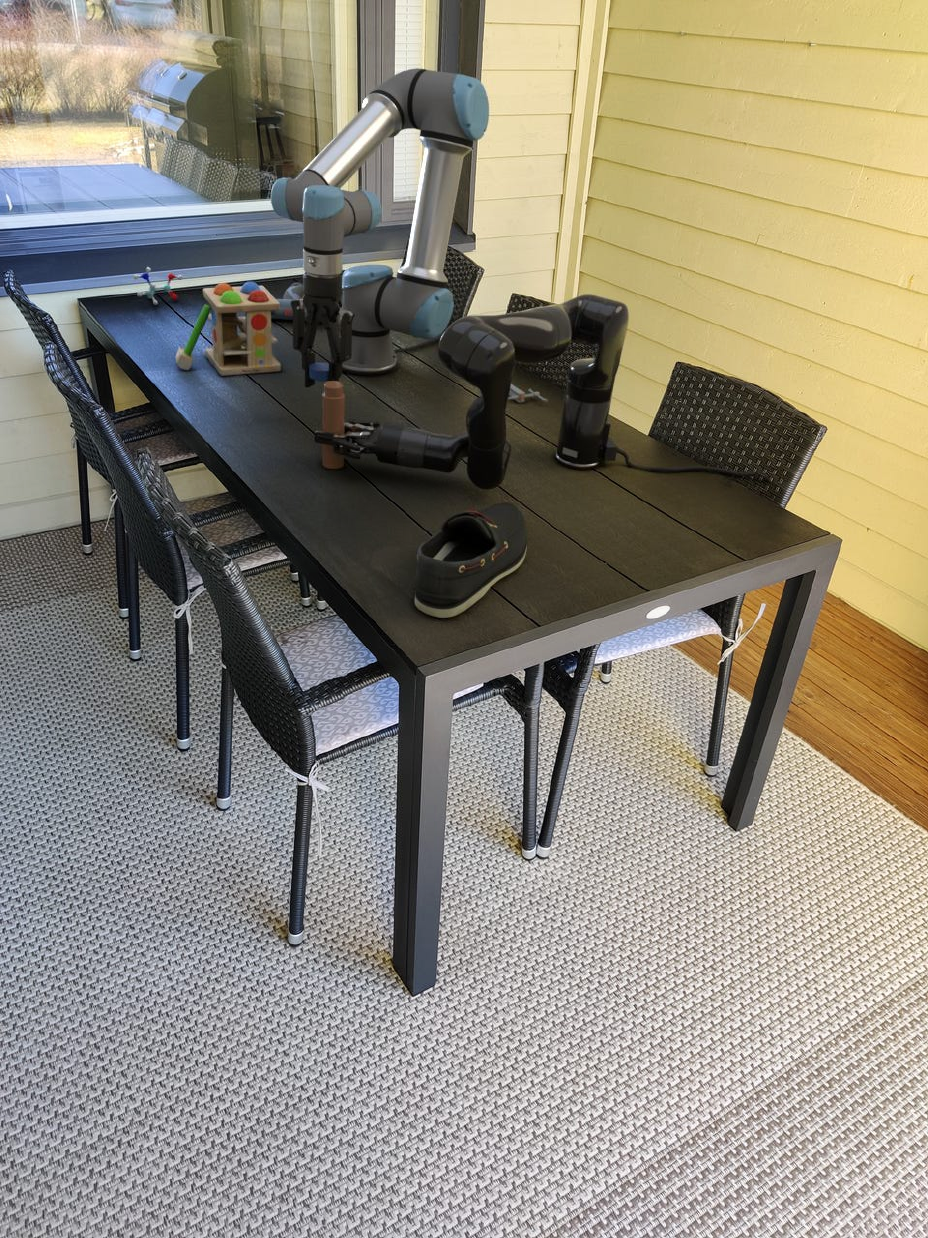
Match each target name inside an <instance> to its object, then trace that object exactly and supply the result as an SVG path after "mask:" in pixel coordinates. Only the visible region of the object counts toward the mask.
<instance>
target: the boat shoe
mask: <svg viewBox="0 0 928 1238" xmlns="http://www.w3.org/2000/svg"><path fill="white" fill-rule="evenodd" d="M527 533H528V532H527V526H526V520H525V518H524V515H523V514H522V512H521V510H520V508H519V507H518V506H517V505H515V504H514V503H512V502H509V501H499V502H495V503H492V504H490V505H487V506H486V507H483V508H482V509H480V510H478V511H474V510H463V511H459V512H457V513H455V514H453V515H451V516H449V517H448V518H447V519H446V520H445V521H444V522H443V523H442V525H441V526H440V527H439V530H438V531H437V532H435V533H434V534H432V535H431V536H430V537H428V538H427V539H426V540H425V541H423V542H422V543H421V544H420V545H419V546H418V548H417V550H416V552H415V559H416V560H417V562H416V570H415V574H414V575H415V576H414V581H413V583H412V589H413V590H415V593H414V605H415V607H416V608H417V609H418V610H419V611H420V612H422V613H424V614H426V615H427V616H432V617H434V618H439V619H446V618H448V619H449V618H453V617H456V616H458V615H460V614H462V613H463V612H465V611H466V610H467V609H469V608H470V607H471V606H473V605H474V604H475V603H476V602H478V601H479V600H481V598H483V597H484V596H485V595H486V594H487V592H488V591H489V590H490V589H491V587H492V586H494V585H495V584H496V583H497V582H498V581H499V580H501V579H503V578H504V577H506V576H508V575H510V574H511V573H513V572H514V571H516V570H517V569H518V568H519V567H520V566H521V565H522V564H523V562H524V560H525V558H526V555H527V550H528V548H527V547H528V534H527Z"/></svg>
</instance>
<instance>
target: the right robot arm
mask: <svg viewBox="0 0 928 1238" xmlns="http://www.w3.org/2000/svg"><path fill="white" fill-rule="evenodd" d="M629 312H630V311H629V307H628V305H627V304H626V303H625V302H623V301H618V300H615V299H612V298H608V297H604V296H600V295H597V294H591V293H584V294H581V295H578V296H577V295H576V296H575V297H572V298H570V299H568V300H566V301H564V302H561V303H554V304H550V305H544V306H543V305H541V306H537V307H532V308H527V309H525V310H521V311H515V312H508V313H503V314H502V313H501V314H492V315H489V314H488V315H487V314H484V315H479V314H476V315H475V314H473V315H465V316H463V317H460V318H458V319H457V320H455V321H453V322H452V323H451V324H450V325H449V326H447V327H446V328H445V329H444V330H443V332H442V333H441V335H442V336H441V335H440V336H441V338H440V340H438V343H437V355H438V358H439V361H440V362H441V363H442V365H443V366H444V367H445V368H446V369H447V370H449V372H451V373H453V374H454V375H456V376H457V377H459V378H460V379H462V380H463V381H465V382H466V383H468V384H469V385H471V386H472V387H475V388H477V389H478V390H479V392H480V394H481V395H480V396H479V397H477V398H476V399H475V400H473V402H472V403H471V404H470V406H469V407H468V409H467V412H466V416H465V427H466V433H464V434H453V435H450V434H445V433H439V432H433V431H428V430H425V429H422V428H419V427H413V426H406V425H401V424H396V423H391V422H390V423H389V422H385V423H383V424H382V425H381V422H380V421H379V420H367V419H366V420H365V419H350V420H349V421H348V422H345V434H334V433H328V432H323V431H322V430H316V431H315V432H314V434H313V436H314V437H313V438H314V443H316V444H321V445H322V444H326V445H332V446H333V452H335V453H338V454H341V455H344V457H347V458H350V459H353V460H357V461H359V460H360V459H361V455H362V454H365V455H375V457H376V459H377V461H378V462H379V463H383V464H388V465H392V466H399V467H405V468H411V469H421V470H422V469H423V470H429V471H434V472H440V473H445V474H446V473H447V474H449V473H452V472H454V471H455V470H456V469H457V468H458V465H459V464H460V462H461V461H462V460H463V459H467V460H466V473H467V478H468V479H469V481H470V482H471V483H472V484H473V485H474V486H475V487H476V488H478V489H481V490H485V491H490V490H491V491H492V490H494V489H496V488H498V487H499V486H500V485H501V484H503V482H504V480H505V477H506V474H507V468H508V465H509V462H510V457H511V455H512V445H511V443H510V441H509V440H508V439H507V434H508V433H507V416H506V413H507V405H508V401H509V400H508V397H510V396H509V392H510V390H511V389H510V387H511V384H512V381H513V375H514V371H515V364H516V363H519V364H527V365H537V364H540V363H546V362H548V361H551V360H555V359H557V358H559V357H560V356H562V355H563V354H564V353H565V352H566V351H567V350H568V348H569V347H570V345H571V343H572V342H575V343H578V344H582V345H584V346H589V347H591V348H594V349H597V351H596V355H595V357H588V358H579V359H577V360H574V361H573V362H571V363H570V365H569V367H568V372H567V379H566V386H565V393H564V399H563V406H562V413H561V420H560V424H559V425H560V426H559V431H558V432H559V433H558V439H557V446H556V451H555V455H554V457H555V460H556V461H557V463H559V464H561V465H562V466H565V467H567V468H571V469H575V470H592V469H595V468H598V467H602V466H604V465H605V462H615V461H616V458H617V454H620V455H621V456H623V457H624V461H625V464H626V465H627V466H629V467H630V468H632V469H635V470H640V471H645V472H667V473H668V472H669V473H670V472H671V473H672V472H673V473H675V472H685V471H707V472H716V473H720V474H725V475H731V476H737V477H757V476H756V475H757V474H755V472H756V471H737V470H731V469H726V468H719V467H713V466H707V465H705V466H704V465H687V466H678V467H666V466H657V467H655V466H654V467H653V466H652V467H651V466H650V467H649V466H648V467H647V466H639V465H638V464H637V465H636V464H634V463H633V462H631V461H630V457H629V455H628V453H627V452H626V451H624V450H622V449H620V448H619V446H617V444H616V443H615V442H614V440H613V439H612V437H610V431H611V424H612V423H611V421H610V419H609V413H610V407H611V403H612V396H613V391H614V385H615V381H616V376H617V372H618V370H619V366H620V362H621V357H622V353H623V349H624V345H625V340H626V336H627V332H628V326H629V319H630V313H629ZM341 439H344V440H341ZM342 449H343V450H342ZM758 477H759V478H761V479H763V480H765V482H767V483H769V484H772V483H773V481H772V480H771V478H770V479H768V478H767V477H761V476H758Z"/></svg>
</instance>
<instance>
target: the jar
mask: <svg viewBox="0 0 928 1238" xmlns="http://www.w3.org/2000/svg"><path fill="white" fill-rule="evenodd" d="M344 388H345V387H344V383H343V382H340V381H339V382H337V381H325V382H324V384H323V392H322V393H321V431H323V432H328V433H334V434H345V423H346V422H345V421H346V393H345V392H344ZM341 440H344V441H345V439H341ZM342 450H343V449H342ZM321 466H322V467H324V468H326V469H329V470H338V469H341V468H344V467H345V456H344V455H341V454H338V453H335V452H333V446H332V445H326V444H321Z"/></svg>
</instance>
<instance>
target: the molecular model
mask: <svg viewBox="0 0 928 1238" xmlns="http://www.w3.org/2000/svg"><path fill="white" fill-rule="evenodd" d="M151 271H152V269H151V268H150V267H149V266H147V267H146V268H145V272H143V274H142V275H141V274H140V275H138V274H134V275H133V279H134V280H138V279H143V280H145V281H146V282H147V284H148V285H149V288H148V289H147V290H146V291H145V292H141V291H138V292H137V294H136V295H137V297H143V296H147V298H148V299H151V300H152V303H153V305H154V306H158V304H159V302H158V301H157V300H156V298H155V297H154V294H155V292H157V291H161V290H164V291H165V292H167V293H168V295H169V296H170V298H171V299H172V301H177V300H178V295H177V294H175V293H174V292H173V290H172V289H171V286H170V284H171V281H172V280H173V279H177V280H180V281H181V280H183V275H181V274H178V275H174V274H173V273H171V272H170V273H168V274H167V278H168V280H167V283H166V284H164V285H163V286H156V284H155V283H151V281H150V275H149V273H150V272H151Z"/></svg>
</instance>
